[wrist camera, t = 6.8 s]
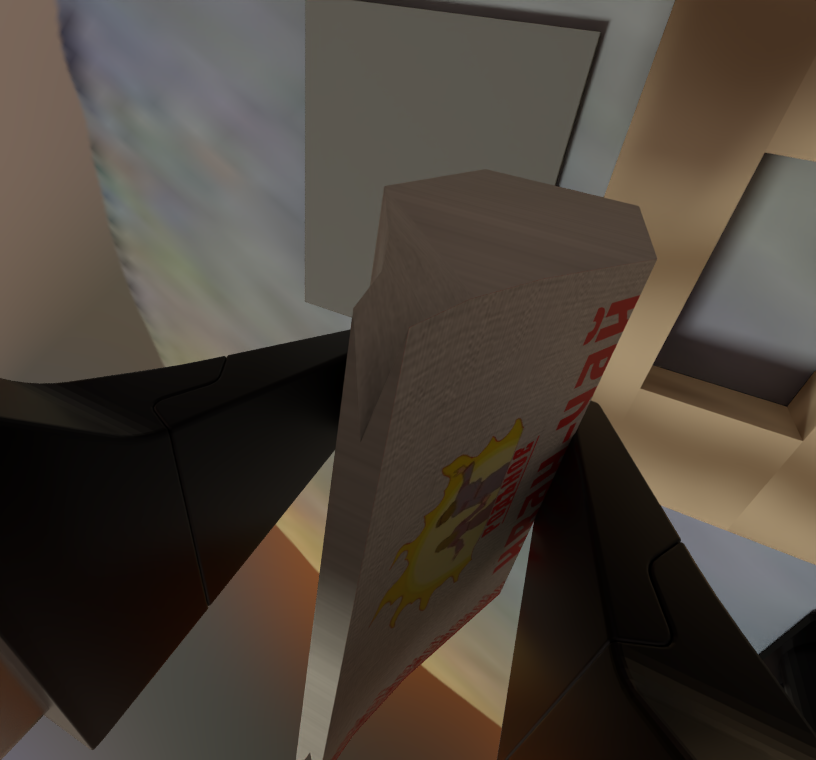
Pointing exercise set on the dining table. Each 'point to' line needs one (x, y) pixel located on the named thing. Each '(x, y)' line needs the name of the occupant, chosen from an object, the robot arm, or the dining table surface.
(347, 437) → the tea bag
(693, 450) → the holder
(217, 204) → the dining table surface
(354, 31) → the mat
